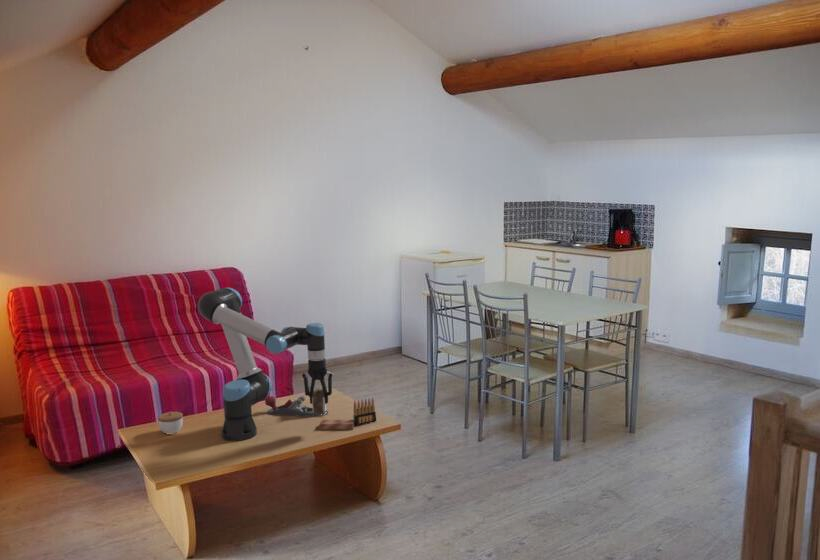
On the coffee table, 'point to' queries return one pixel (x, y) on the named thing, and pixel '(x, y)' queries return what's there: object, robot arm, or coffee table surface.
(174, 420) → the lidded jar
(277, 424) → the coffee table surface
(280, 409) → the hand plane
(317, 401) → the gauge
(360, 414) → the ammunition clip
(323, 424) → the board
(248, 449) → the coffee table surface
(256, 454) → the coffee table surface
